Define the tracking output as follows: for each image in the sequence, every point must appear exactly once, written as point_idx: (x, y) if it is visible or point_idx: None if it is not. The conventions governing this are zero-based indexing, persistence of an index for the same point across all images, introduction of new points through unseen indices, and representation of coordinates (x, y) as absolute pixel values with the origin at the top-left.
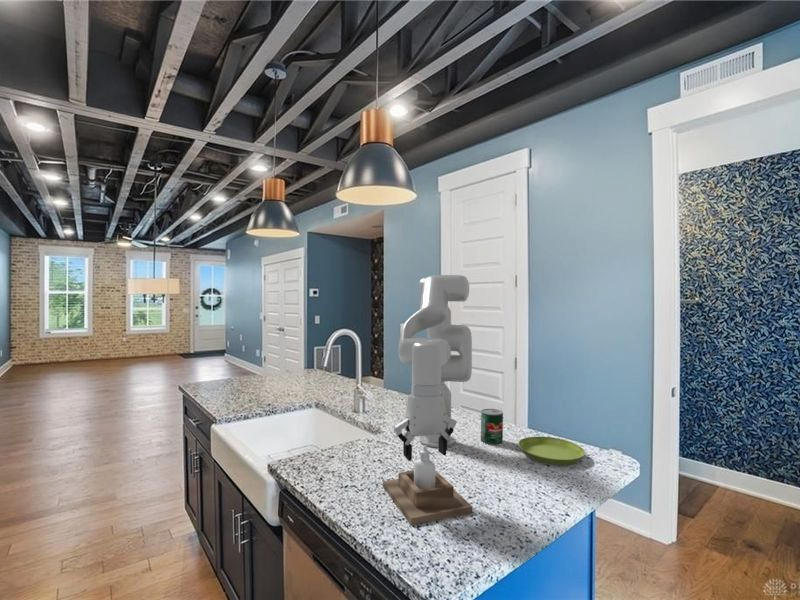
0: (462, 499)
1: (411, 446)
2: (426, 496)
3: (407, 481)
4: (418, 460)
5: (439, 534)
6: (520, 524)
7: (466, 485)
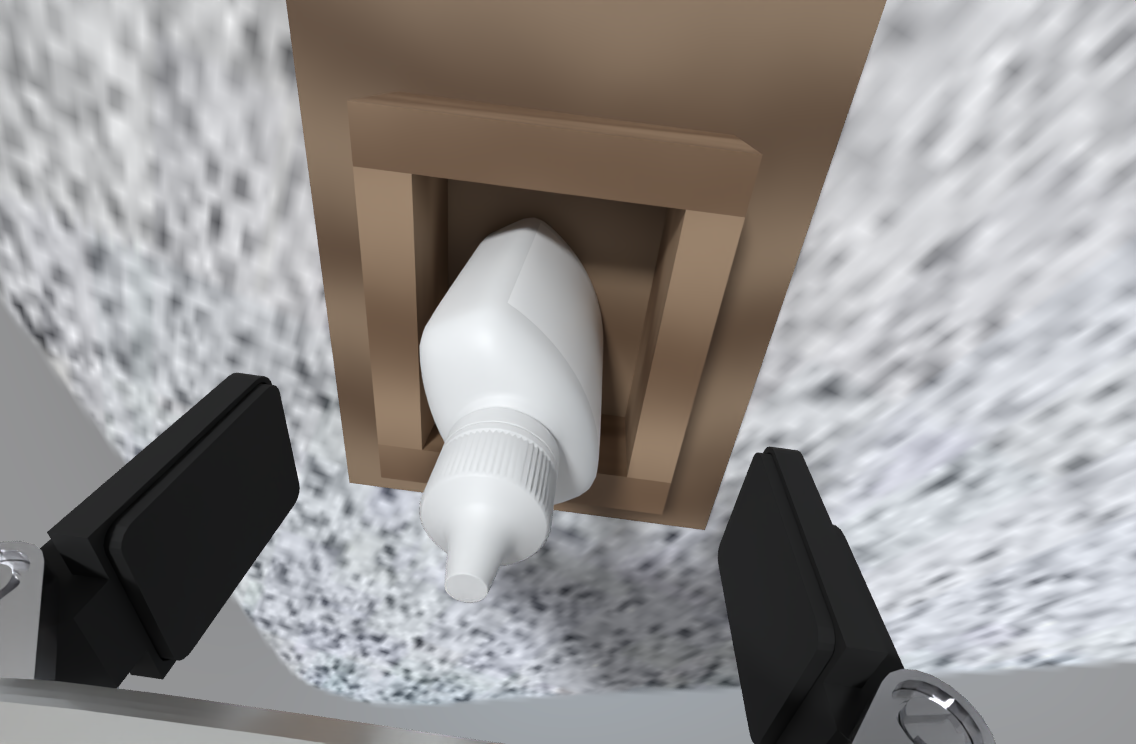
0: (713, 463)
1: (184, 648)
2: None
3: (376, 315)
4: (441, 404)
5: None
6: None
7: (966, 251)
